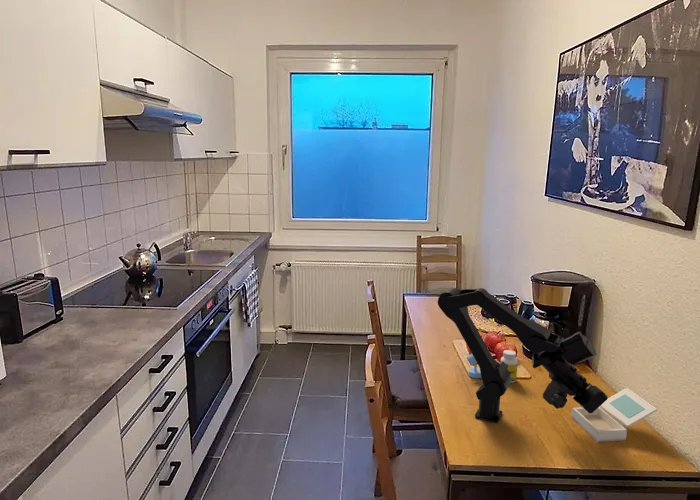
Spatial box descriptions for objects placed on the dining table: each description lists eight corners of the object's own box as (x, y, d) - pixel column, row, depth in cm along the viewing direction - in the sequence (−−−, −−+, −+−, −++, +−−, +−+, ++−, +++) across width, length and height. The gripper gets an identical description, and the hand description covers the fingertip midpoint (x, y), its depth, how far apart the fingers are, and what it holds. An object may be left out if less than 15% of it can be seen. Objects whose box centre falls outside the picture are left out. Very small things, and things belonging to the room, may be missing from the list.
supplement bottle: (497, 381, 157) (499, 353, 155) (500, 374, 162) (502, 347, 160) (514, 384, 154) (516, 356, 153) (517, 378, 159) (519, 350, 157)
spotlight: (482, 371, 164) (463, 372, 163) (484, 344, 162) (465, 345, 161) (489, 377, 159) (469, 379, 158) (490, 349, 158) (471, 351, 156)
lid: (656, 408, 123) (657, 410, 123) (626, 387, 135) (627, 389, 135) (625, 426, 123) (626, 428, 123) (598, 403, 135) (599, 405, 135)
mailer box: (596, 441, 123) (597, 431, 123) (571, 417, 135) (572, 407, 134) (625, 440, 124) (627, 429, 123) (598, 416, 136) (599, 406, 135)
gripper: (521, 373, 134) (554, 407, 138) (555, 407, 116) (592, 445, 119) (550, 346, 134) (582, 381, 137) (589, 376, 115) (626, 416, 119)
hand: (594, 405), depth 128 cm, fingers closed
